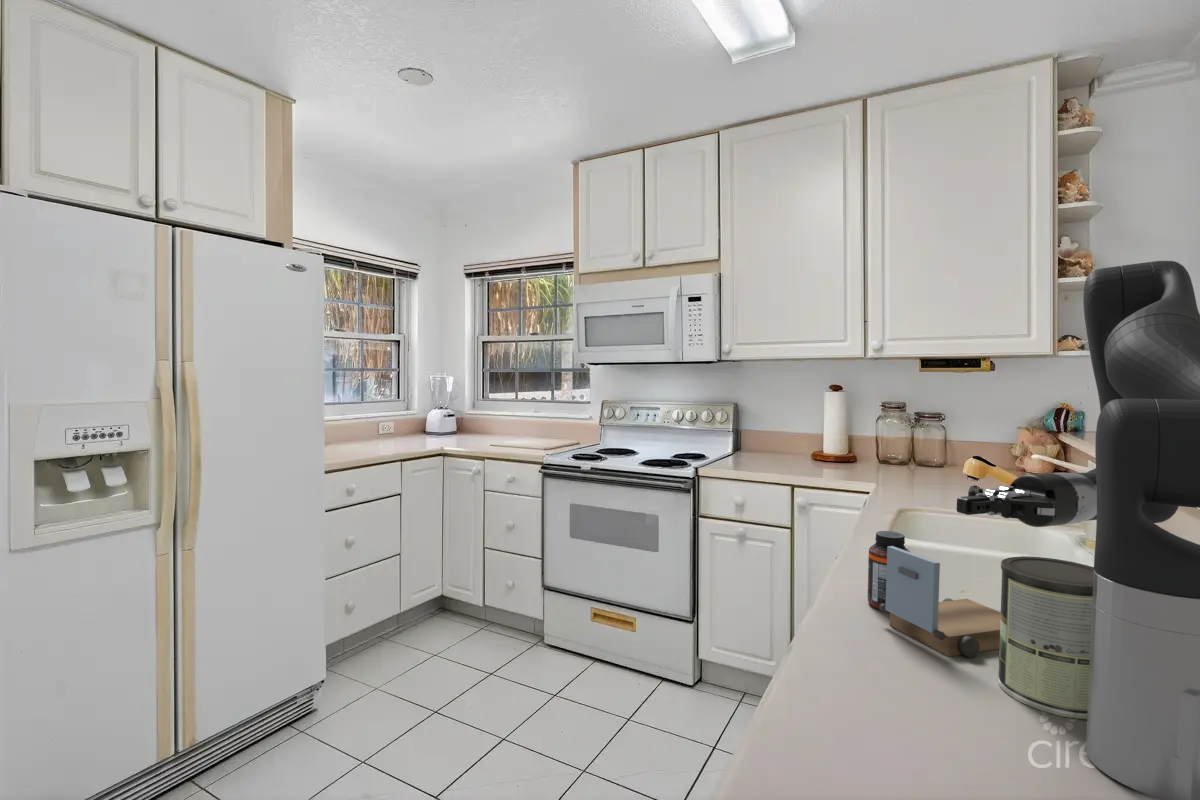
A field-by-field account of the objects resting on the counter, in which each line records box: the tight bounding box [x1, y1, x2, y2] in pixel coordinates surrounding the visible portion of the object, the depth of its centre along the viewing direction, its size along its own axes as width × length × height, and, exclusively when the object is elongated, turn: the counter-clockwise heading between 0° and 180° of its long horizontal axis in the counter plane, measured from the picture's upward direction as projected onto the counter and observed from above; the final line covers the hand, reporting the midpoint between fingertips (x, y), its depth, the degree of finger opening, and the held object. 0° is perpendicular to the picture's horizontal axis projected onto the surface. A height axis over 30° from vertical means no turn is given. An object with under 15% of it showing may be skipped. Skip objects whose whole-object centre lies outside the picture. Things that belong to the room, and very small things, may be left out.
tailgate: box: [885, 546, 941, 633], centre depth 81 cm, size 8×1×9 cm, turn 17°
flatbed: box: [879, 597, 1001, 659], centre depth 83 cm, size 12×15×3 cm
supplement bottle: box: [867, 530, 911, 611], centre depth 93 cm, size 6×6×11 cm
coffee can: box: [997, 555, 1094, 721], centre depth 67 cm, size 10×10×14 cm
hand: (961, 506), depth 83 cm, fingers closed
